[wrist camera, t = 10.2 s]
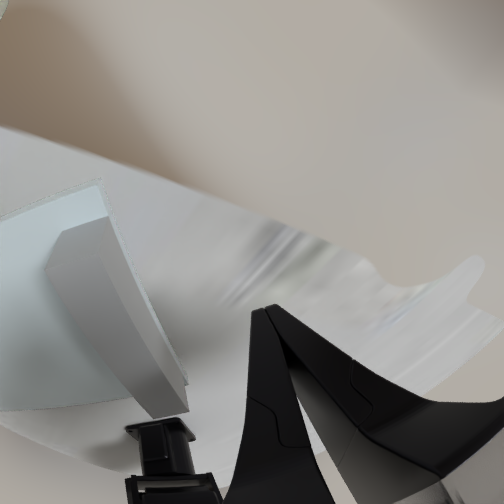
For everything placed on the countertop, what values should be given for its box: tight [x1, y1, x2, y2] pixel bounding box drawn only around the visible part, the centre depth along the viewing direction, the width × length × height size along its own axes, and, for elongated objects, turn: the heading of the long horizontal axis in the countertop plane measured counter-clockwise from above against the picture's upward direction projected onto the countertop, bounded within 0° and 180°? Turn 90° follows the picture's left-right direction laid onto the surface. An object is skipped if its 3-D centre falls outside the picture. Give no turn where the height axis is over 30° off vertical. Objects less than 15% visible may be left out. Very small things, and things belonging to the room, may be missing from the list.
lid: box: [0, 178, 189, 419], centre depth 9 cm, size 10×14×3 cm
